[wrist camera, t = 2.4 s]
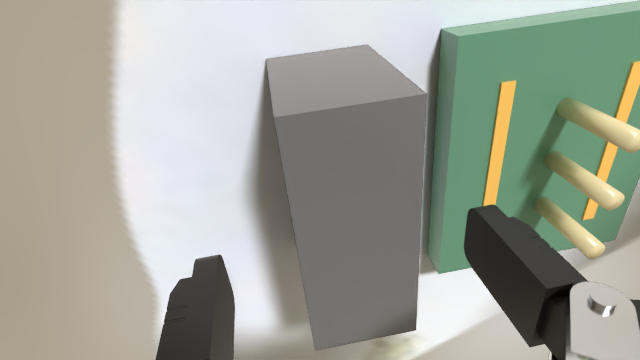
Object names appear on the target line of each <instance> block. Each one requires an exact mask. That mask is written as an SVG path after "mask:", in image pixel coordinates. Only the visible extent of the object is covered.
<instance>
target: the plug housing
mask: <svg viewBox="0 0 640 360" xmlns="http://www.w3.org/2000/svg"><path fill="white" fill-rule="evenodd" d="M266 64H267V71H268V78H269V86H270V93H271V100H272V108H273V115H274V121H275V127H276V132H277V138H278V144H279V149H280V155H281V161H282V166H283V172H284V178H285V183H286V189H287V195H288V200H289V206H290V212H291V217H292V223H293V229H294V234H295V240H296V246H297V251H298V257H299V262H300V268H301V274H302V279H303V285H304V291H305V296H306V302H307V308H308V313H309V319H310V325H311V330H312V336H313V342H314V347H315V351H316V350H321V349H326V348H331V347H336V346H341V345H345V344H350V343H355V342H360V341H365V340H370V339H375V338H380V337H385V336H390V335H395V334H400V333H405V332H409V331H414V330H416V317H417V295H418V274H419V252H420V230H421V209H422V187H423V165H424V144H425V122H426V100H427V93H425V92H424V91H423V90H422V89H420V88H419V87H418V86H417V85H416V84H414V83H413V82H412V81H411V80H410V79H408V78H407V77H406V76H405V75H404V74H402V73H401V72H400V71H399V70H398V69H396V68H395V67H394V66H393V65H392V64H390V63H389V62H388V61H387V60H385V59H384V58H383V57H382V56H381V55H379V54H378V53H377V52H376V51H375V50H373V49H372V48H371V47H370V46H369V45H361V46H354V47H347V48H340V49H333V50H326V51H319V52H312V53H305V54H298V55H291V56H284V57H277V58H270V59H266Z"/></svg>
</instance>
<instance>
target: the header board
mask: <svg viewBox="0 0 640 360" xmlns="http://www.w3.org/2000/svg"><path fill="white" fill-rule="evenodd" d="M639 177H640V1H634V2H627V3H620V4H613V5H606V6H599V7H592V8H585V9H578V10H571V11H564V12H557V13H550V14H543V15H536V16H529V17H521V18H514V19H507V20H500V21H493V22H486V23H479V24H472V25H465V26H458V27H451V28H444V29H441V44H440V60H439V77H438V93H437V109H436V126H435V142H434V158H433V175H432V191H431V207H430V224H429V240H428V256H429V258H430V260H431V261H432V263H433V265H434V267H435V268H436V270H437V272H438V274H441V273H446V272H451V271H457V270H462V269H467V268H472V267H471V265H470V264H469V262H468V261H467V258H466V256H465V252H464V238H465V230H466V222H467V214H468V211H469V209H471V208H475V207H481V206H486V205H491V204H494V205H496V206H497V207H498V208H499V209H500V210H501V211H502V212H503V213H504V214H505V215H506V216H507V217H515V218H517V219H519V220H521V221H522V222H524V223H526V224H528V225H530V226H531V227H532V228H533V229H534V230H535V231H536V232H537V233H538V234H539V235H540V236H541V239H542V238H543V239H544V240H545V241H546V242H547V243H548V244H549V245H550V247H551V248H552V247H553V248H554V249H555V250H556V251H561V250H566V249H571V248H578V249H579V250H580V251H581V252H582V253H583V254H584V255H585V256H586V257H587V258H589V259H594V258H597V257H599V256H600V255H601V254H602V253H603V252H604V251H605V245H604V244H602V242H607V241H612V240H615V238H616V236H617V233H618V230H619V228H620V225H621V223H622V220H623V218H624V215H625V213H626V210H627V208H628V205H629V203H630V200H631V198H632V195H633V192H634V190H635V187H636V185H637V182H638V180H639Z"/></svg>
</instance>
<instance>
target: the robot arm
mask: <svg viewBox="0 0 640 360" xmlns="http://www.w3.org/2000/svg"><path fill="white" fill-rule="evenodd" d="M464 252H465V256H466V258H467V261H468V262H469V264H470V265H471V267H472V268H473V270H474V271H475V272H476V274H477V275H478V276H479V278H480V279H481V281H482V282H483V283H484V285H485V286H486V288H487V289H488V290H489V292H490V293H491V294H492V296H493V297H494V299H495V300H496V301H497V303H498V304H499V305H500V307H501V308H502V310H503V311H504V312H505V314H506V315H507V317H508V318H509V319H510V321H511V322H512V323H513V325H514V326H515V328H516V329H517V330H518V332H519V333H520V335H521V336H522V337H523V339H524V340H525V341H526V342H527V344H528V345H529V347H533V346H537V345H542V344H545V345H546V346H547V347H548V349H549V350H550V353H549V356H548V360H640V300H631V299H629V298H628V297H626V296H625V295H624V294H623V293H621V292H620V291H618V290H617V289H614V288H612V287H610V286H608V285H605V284H601V283H597V282H588V281H587V280H586V279H585V278H584V277H583V276H582V275H581V274H580V273H579V272H578V271H577V270H576V269H575V268H574V267H572V266H571V265H570V264H569V263H568V262H567V261H566V260H565V259H564V258H563V257H562V256H561V255H560V254H559V253H558V252H557V251H556V250H555V249H554V248H553V247H552V248H551V247H550V245H549V244H548V243H547V242H546V241H545V240H544V239H543V238H542V239H541V236H540V235H539V234H538V233H537V232H536V231H535V230H534V229H533V228H532V227H531V226H530V225H528V224H526V223H524V222H522V221H521V220H519V219H517V218H515V217H507V216H506V215H505V214H504V213H503V212H502V211H501V210H500V209H499V208H498V207H497V206H496V205H494V204H491V205H486V206H481V207H475V208H471V209H469V211H468V214H467V222H466V230H465V238H464ZM234 318H235V304H234V296H233V291H232V287H231V284H230V281H229V277H228V274H227V271H226V268H225V264H224V261H223V258H222V256H221V255H215V256H210V257H204V258H199V259H196V260H195V263H194V269H193V275H192V277H190V278H185V279H180V280H179V282H178V283H177V285H176V286H175V288H174V289H173V291H172V292H171V293H170V297H169V302H168V306H167V312H166V315H165V320H164V323H165V324H164V325H163V329H162V334H161V338H160V343H159V347H158V352H157V356H156V360H233V353H234Z"/></svg>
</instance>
